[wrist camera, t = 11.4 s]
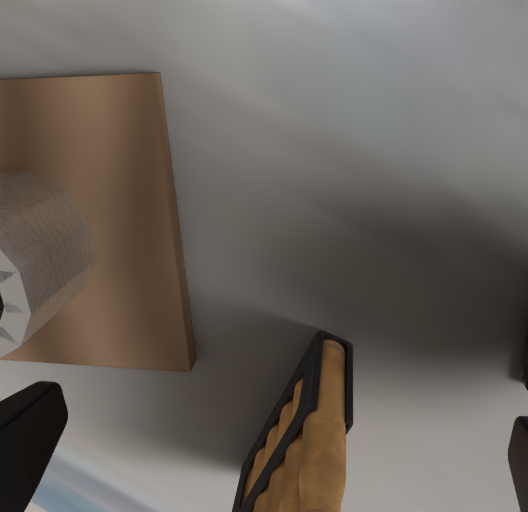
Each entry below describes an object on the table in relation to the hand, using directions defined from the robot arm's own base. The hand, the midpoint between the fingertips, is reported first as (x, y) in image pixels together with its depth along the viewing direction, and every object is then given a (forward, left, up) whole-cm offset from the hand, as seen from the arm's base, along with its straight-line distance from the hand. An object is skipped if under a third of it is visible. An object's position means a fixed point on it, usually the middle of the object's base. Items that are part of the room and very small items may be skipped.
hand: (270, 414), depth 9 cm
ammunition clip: (+1, +11, -12) cm, 17 cm away
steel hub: (+13, +1, -11) cm, 17 cm away
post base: (+13, +1, -12) cm, 18 cm away
